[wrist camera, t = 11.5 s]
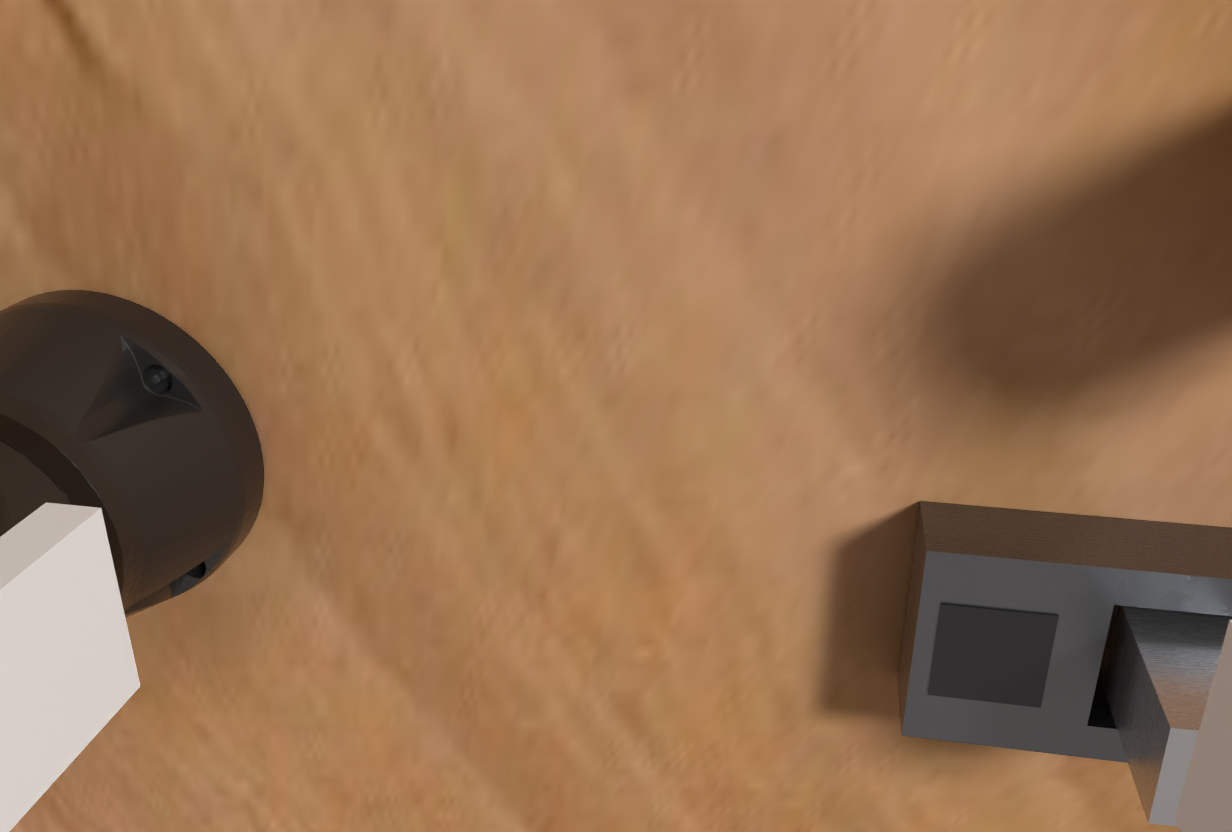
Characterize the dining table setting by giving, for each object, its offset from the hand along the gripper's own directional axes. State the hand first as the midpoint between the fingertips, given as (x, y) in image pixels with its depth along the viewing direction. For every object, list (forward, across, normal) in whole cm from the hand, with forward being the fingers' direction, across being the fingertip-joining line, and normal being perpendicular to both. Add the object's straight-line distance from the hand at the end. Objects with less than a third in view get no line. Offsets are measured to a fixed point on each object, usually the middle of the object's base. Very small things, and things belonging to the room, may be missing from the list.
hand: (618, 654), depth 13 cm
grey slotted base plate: (+32, +17, -19) cm, 41 cm away
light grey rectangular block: (+32, +17, -19) cm, 41 cm away
